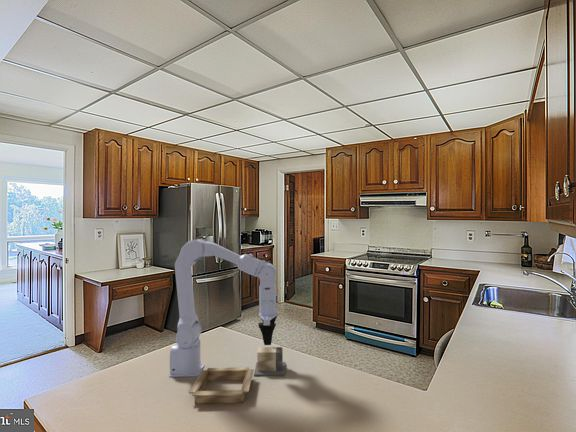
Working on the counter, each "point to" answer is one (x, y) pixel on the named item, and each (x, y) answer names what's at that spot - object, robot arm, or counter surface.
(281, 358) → the box
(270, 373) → the mat
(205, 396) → the square wooden frame
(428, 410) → the counter surface
